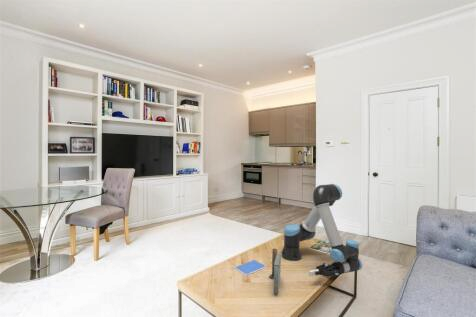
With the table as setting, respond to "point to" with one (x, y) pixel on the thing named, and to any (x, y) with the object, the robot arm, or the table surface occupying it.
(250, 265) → the tablet computer
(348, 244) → the robot arm
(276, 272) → the panel
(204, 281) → the table surface
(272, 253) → the hinge post
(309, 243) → the table surface
